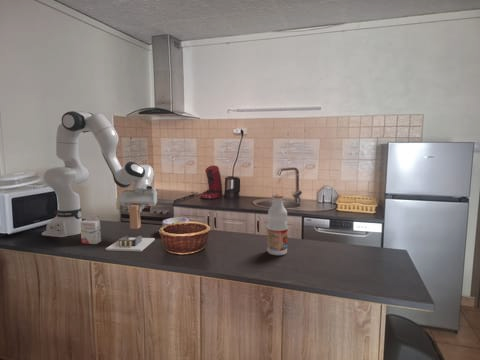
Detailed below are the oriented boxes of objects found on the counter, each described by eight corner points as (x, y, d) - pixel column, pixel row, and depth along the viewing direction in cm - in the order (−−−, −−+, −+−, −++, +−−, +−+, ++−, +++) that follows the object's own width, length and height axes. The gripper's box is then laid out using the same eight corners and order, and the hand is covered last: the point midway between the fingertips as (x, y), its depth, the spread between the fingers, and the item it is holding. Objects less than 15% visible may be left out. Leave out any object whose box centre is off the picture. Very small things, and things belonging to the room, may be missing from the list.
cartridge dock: (105, 250, 153) (105, 242, 152) (122, 239, 171) (122, 231, 170) (141, 251, 151) (140, 243, 151) (154, 239, 169) (154, 232, 169)
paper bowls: (159, 232, 184) (159, 218, 183) (184, 228, 191) (184, 216, 190) (166, 239, 171) (166, 224, 170) (192, 235, 178) (192, 221, 177)
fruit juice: (266, 249, 154) (266, 193, 151) (285, 248, 155) (285, 193, 151) (268, 256, 145) (269, 196, 142) (288, 255, 145) (289, 196, 142)
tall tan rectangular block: (130, 228, 164) (129, 206, 162) (133, 226, 168) (132, 204, 166) (137, 228, 163) (136, 206, 162) (140, 226, 167) (139, 204, 166)
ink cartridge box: (81, 243, 163) (79, 216, 161) (86, 240, 168) (84, 214, 166) (96, 244, 162) (94, 216, 160) (101, 241, 167) (100, 214, 165)
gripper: (120, 186, 171) (113, 208, 162) (157, 187, 169) (151, 208, 160) (125, 193, 176) (117, 214, 167) (160, 193, 174) (154, 215, 165)
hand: (134, 211), depth 164 cm, fingers closed on tall tan rectangular block, 4 cm apart
